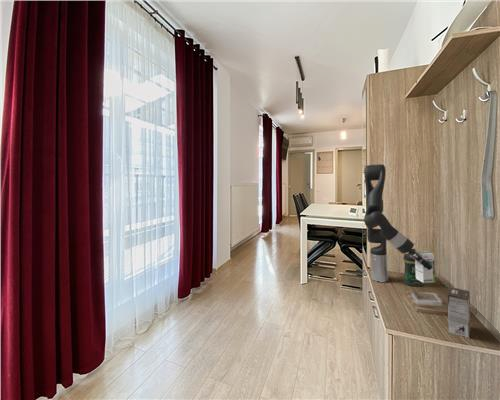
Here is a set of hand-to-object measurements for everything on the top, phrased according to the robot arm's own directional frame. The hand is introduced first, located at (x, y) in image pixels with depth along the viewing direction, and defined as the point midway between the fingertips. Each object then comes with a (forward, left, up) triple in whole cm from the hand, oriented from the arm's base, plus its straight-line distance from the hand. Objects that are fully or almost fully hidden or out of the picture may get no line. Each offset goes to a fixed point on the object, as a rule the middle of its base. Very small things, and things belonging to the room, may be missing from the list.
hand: (428, 266), depth 116 cm
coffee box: (+20, +5, -20) cm, 29 cm away
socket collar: (0, -1, -19) cm, 19 cm away
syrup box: (0, -2, -8) cm, 8 cm away
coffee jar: (-27, 0, -20) cm, 34 cm away
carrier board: (-2, 0, -20) cm, 20 cm away
